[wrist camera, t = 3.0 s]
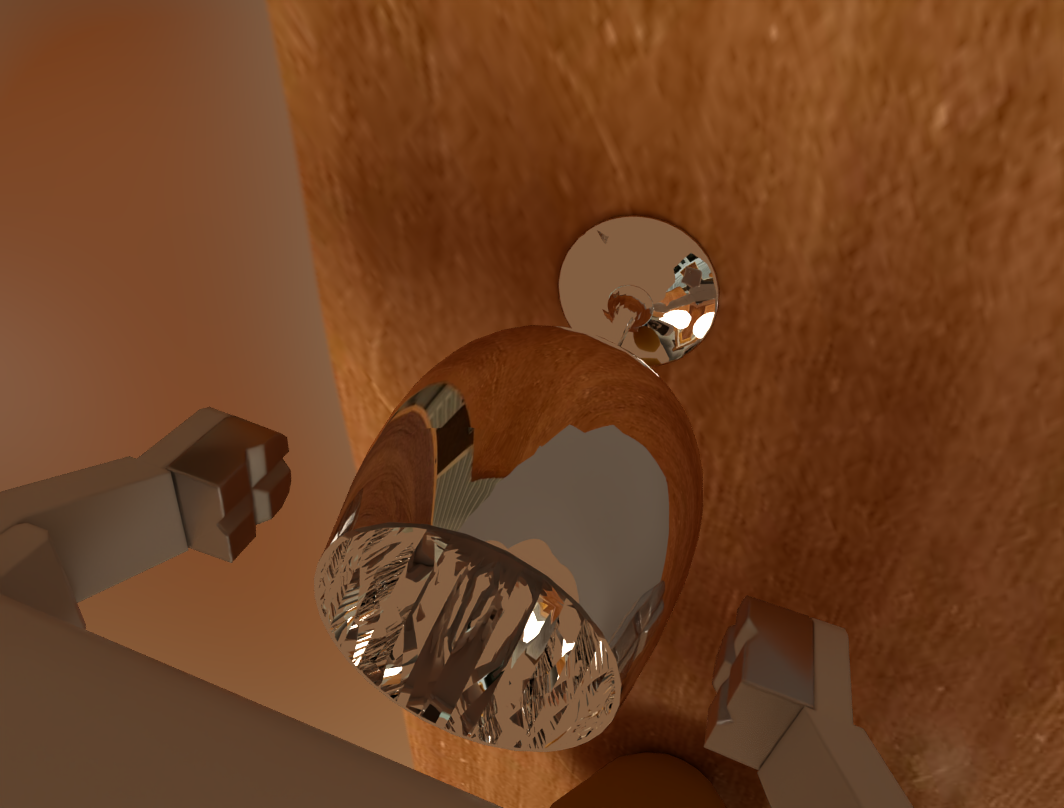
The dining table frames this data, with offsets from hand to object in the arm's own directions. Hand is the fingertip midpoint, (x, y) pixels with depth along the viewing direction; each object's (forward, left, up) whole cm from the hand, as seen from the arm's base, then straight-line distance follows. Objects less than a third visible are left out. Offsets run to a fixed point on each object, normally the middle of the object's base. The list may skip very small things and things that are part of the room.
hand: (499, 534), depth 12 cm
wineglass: (0, 0, -10) cm, 10 cm away
